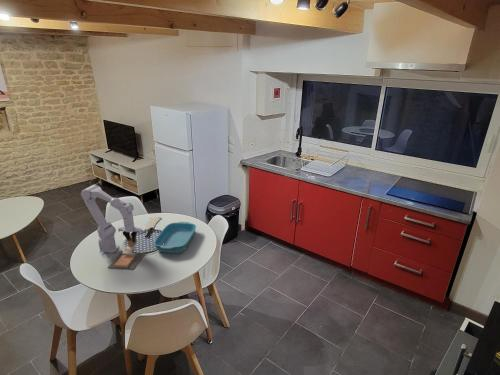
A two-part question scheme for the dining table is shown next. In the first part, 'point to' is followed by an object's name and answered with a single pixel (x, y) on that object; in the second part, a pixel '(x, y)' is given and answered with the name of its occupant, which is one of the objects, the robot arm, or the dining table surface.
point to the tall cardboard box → (130, 247)
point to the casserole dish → (175, 237)
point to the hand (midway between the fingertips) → (131, 241)
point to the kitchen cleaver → (152, 225)
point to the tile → (124, 261)
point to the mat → (132, 266)
